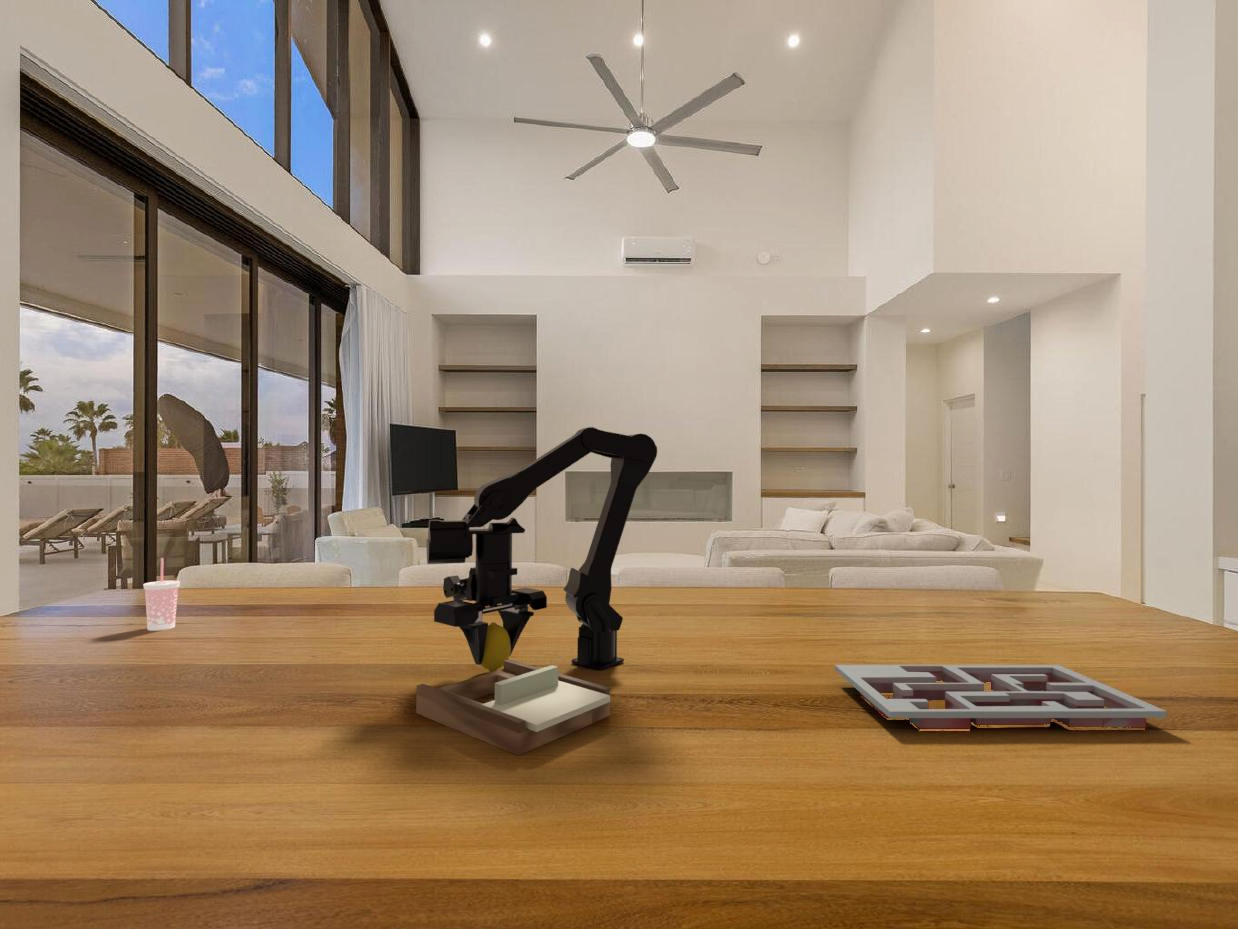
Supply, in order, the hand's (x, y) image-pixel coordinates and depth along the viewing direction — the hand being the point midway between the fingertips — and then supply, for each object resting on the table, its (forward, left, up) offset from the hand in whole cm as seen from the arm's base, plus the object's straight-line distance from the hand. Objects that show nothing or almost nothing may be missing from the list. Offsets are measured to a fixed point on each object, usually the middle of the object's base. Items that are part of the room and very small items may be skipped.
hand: (492, 660), depth 106 cm
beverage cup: (+24, -73, -2) cm, 77 cm away
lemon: (0, 0, -2) cm, 2 cm away
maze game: (-35, +63, -3) cm, 72 cm away
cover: (+10, +22, +1) cm, 24 cm away
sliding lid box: (+10, +16, -2) cm, 19 cm away
